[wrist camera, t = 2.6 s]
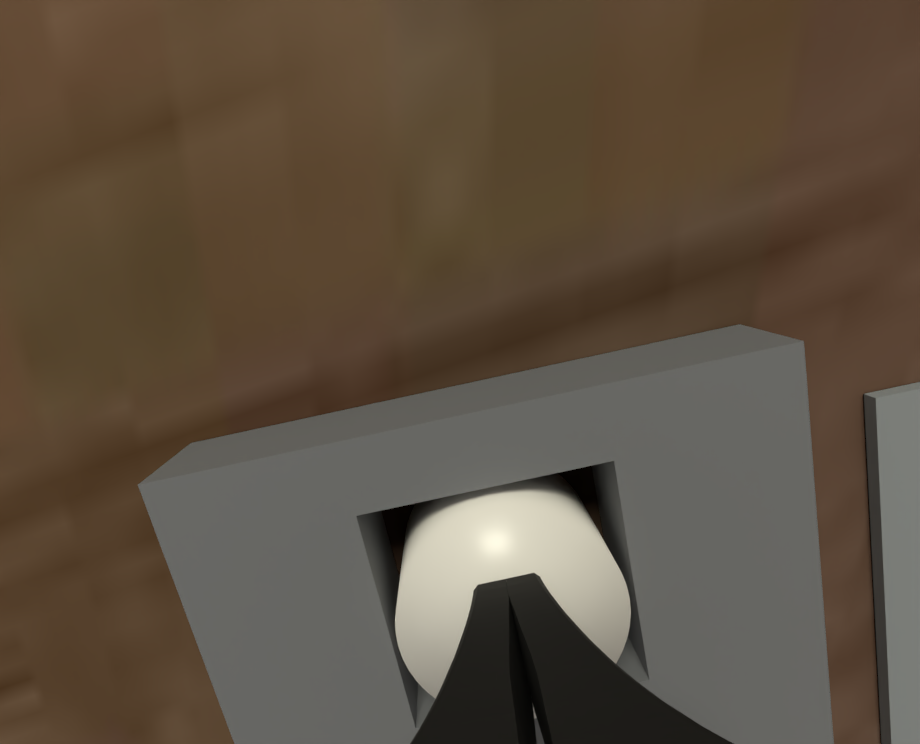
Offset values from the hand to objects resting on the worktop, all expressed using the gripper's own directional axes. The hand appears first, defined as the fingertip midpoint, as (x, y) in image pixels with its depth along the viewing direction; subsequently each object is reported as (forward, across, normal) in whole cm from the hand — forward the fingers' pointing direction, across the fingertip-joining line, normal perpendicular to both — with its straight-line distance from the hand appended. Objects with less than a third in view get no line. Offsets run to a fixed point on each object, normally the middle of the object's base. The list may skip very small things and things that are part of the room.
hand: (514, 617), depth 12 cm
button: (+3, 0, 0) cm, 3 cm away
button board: (+3, 0, +8) cm, 9 cm away
